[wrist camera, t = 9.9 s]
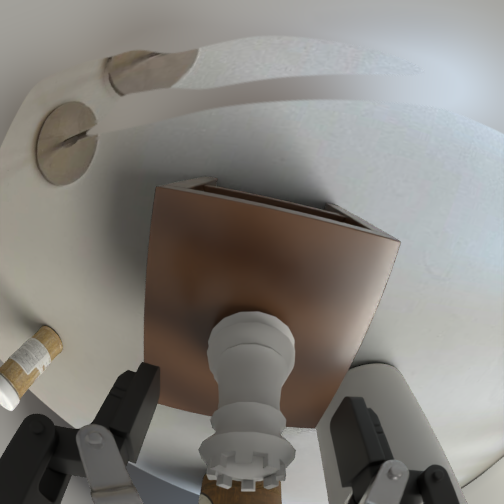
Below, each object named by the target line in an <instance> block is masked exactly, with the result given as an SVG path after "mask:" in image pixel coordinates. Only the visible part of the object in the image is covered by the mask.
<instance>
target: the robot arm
mask: <svg viewBox="0 0 504 504" xmlns="http://www.w3.org/2000/svg"><path fill="white" fill-rule="evenodd" d="M159 395H160V367H159V366H155V365H152V364H148V363H145V362H142V363H141V364H140V366H139V368H138V370H137V372H133V371H130V370H127V371H126V372H124V373H123V374H121V375H120V376H118V378H117V380H116V382H115V383H114V385H113V387H112V389H111V390H110V392H109V395H108V396H107V397H106V399H105V401H104V403H103V404H102V406H101V408H100V410H99V412H98V413H97V415H96V417H95V419H94V420H93V422H92V423H91V424H90V425H86V426H84V427H82V428H80V429H71V428H65V427H60V426H55V425H54V424H53V422H52V421H51V420H50V419H49V418H48V417H46V416H45V415H41V414H32V415H29V416H28V417H26V418H25V419H24V420H23V422H22V424H21V425H20V427H19V428H18V430H17V431H16V433H15V435H14V436H13V438H12V440H11V441H10V443H9V445H8V446H7V448H6V450H5V452H4V453H3V455H2V457H1V458H0V504H61V501H62V498H63V495H64V493H65V491H66V488H67V486H68V483H69V481H70V478H71V476H72V475H74V476H80V477H86V478H87V480H88V483H89V485H90V489H91V497H92V500H93V502H94V504H144V503H143V501H142V500H141V498H140V496H139V494H138V492H137V490H136V488H135V486H134V485H133V483H132V480H131V478H130V476H129V474H128V471H127V469H126V466H127V463H128V461H130V462H133V463H136V461H137V458H138V456H139V453H140V450H141V447H142V444H143V442H144V439H145V436H146V433H147V431H148V428H149V425H150V422H151V420H152V417H153V414H154V412H155V409H156V406H157V404H158V400H159ZM330 433H331V437H332V442H333V446H334V451H335V456H336V460H337V465H338V470H339V475H340V480H341V485H342V488H345V487H352V492H351V493H350V494H349V496H348V497H347V499H346V501H345V502H344V504H422V503H424V504H460V503H459V500H458V497H457V495H456V492H455V489H454V487H453V484H452V482H451V479H450V477H449V474H448V472H447V470H446V469H445V468H444V467H442V466H440V465H437V464H434V465H431V466H429V467H428V468H427V469H426V470H424V471H418V470H409V469H408V468H407V467H406V465H405V464H404V463H402V462H400V461H398V460H395V459H394V457H393V454H392V452H391V449H390V446H389V444H388V441H387V438H386V436H385V433H384V430H383V428H382V426H381V423H380V420H379V418H378V415H377V414H376V413H375V412H374V411H373V410H372V409H371V408H367V406H366V403H365V401H364V398H363V397H352V396H346V397H344V398H343V400H342V402H341V403H340V405H339V407H338V408H337V410H336V411H335V413H334V415H333V416H332V418H331V421H330Z"/></svg>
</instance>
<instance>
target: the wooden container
mask: <svg viewBox="0 0 504 504" xmlns="http://www.w3.org/2000/svg"><path fill="white" fill-rule="evenodd" d="M216 483H217V480H209V479H208V477H207V475H206V474H205V475H204V477H203V481H202V487H201V493H200V497H199V503H198V504H282V501H281V482H280V481H279V486H277V487H274V488H271V489H266V488H264V480H262V481H256V482H255V491H241V484H242V481H236V480H232V487H231V488H229V489H226V488H223V487H220V486H217V485H216Z"/></svg>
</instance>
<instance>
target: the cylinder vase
mask: <svg viewBox="0 0 504 504" xmlns="http://www.w3.org/2000/svg"><path fill="white" fill-rule="evenodd" d="M346 396H352V397H363V398H364V401H365V403H366V406H367V408H371V409H372V410H373V411H374V412H375V413H376V414H377V415H378V418H379V420H380V423H381V426H382V428H383V430H384V433H385V436H386V438H387V441H388V444H389V446H390V449H391V452H392V454H393V457H394V459H395V460H398V461H400V462H402V463H404V464H405V465H406V467H407V468H408V469H409V470H418V471H424V470H426V469H427V468H428V467H429V466H431V465H434V464H437V465H440V466H442V467H444V468H445V469H446V470H447V472H448V474H449V477H450V479H451V482H452V484H453V487H454V489H455V492H456V495H457V497H458V500H459V503H460V504H467V501H466V499H465V496H464V495H463V492H462V489H461V487H460V485H459V483H458V480H457V478H456V476H455V474H454V472H453V470H452V467H451V465H450V463H449V461H448V459H447V457H446V455H445V453H444V451H443V449H442V447H441V445H440V443H439V441H438V439H437V437H436V435H435V433H434V431H433V429H432V427H431V426H430V424H429V422H428V420H427V418H426V416H425V414H424V412H423V411H422V409H421V407H420V405H419V403H418V402H417V400H416V398H415V396H414V394H413V393H412V391H411V389H410V387H409V386H408V384H407V382H406V381H405V379H404V377H403V375H402V374H401V372H400V371H399V370H397V369H396V368H395V367H393V366H390V365H387V364H380V363H374V364H366V365H362V366H358V367H355V368H352V369H350V370H348V372H347V373H346V375H345V377H344V379H343V381H342V383H341V385H340V387H339V388H338V390H337V392H336V394H335V396H334V397H333V399H332V401H331V403H330V404H329V406H328V408H327V409H326V411H325V413H324V414H323V416H322V418H321V419H320V421H319V423H318V424H317V426H316V430H317V436H318V441H319V447H320V453H321V458H322V464H323V470H324V476H325V482H326V488H327V494H328V501H329V504H344V502H345V501H346V499H347V497H348V496H349V494H350V493H351V492H352V487H345V488H342V485H341V480H340V475H339V470H338V465H337V460H336V456H335V451H334V446H333V442H332V437H331V433H330V421H331V418H332V416H333V415H334V413H335V411H336V410H337V408H338V407H339V405H340V403H341V402H342V400H343V398H344V397H346ZM422 504H424V503H422Z"/></svg>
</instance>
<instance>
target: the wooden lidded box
mask: <svg viewBox="0 0 504 504" xmlns="http://www.w3.org/2000/svg"><path fill="white" fill-rule="evenodd" d="M217 180H218V179H217V178H213V177H207V176H203V177H198V178H193V179H189V180H184V181H179V182H175V183H170V184H166V185H161V186H157V187H156V189H155V196H154V203H153V211H152V219H151V227H150V236H149V246H148V258H147V270H146V286H145V307H144V362H145V363H148V364H152V365H155V366H159V367H160V395H159V400H158V404H161V405H165V406H169V407H172V408H176V409H180V410H184V411H189V412H193V413H197V414H202V415H207V416H213V414H214V412H215V411H216V410H218V404H219V390H218V383H217V382H216V380H215V379H214V375H213V373H212V372H211V371H210V368H209V362H208V356H207V350H208V347H209V345H208V341H209V338H210V335H211V332H212V329H213V328H214V327H215V326H216V325H217V324H218V323H219V322H220V321H221V320H223V319H224V318H226V317H228V316H231V315H233V314H236V313H239V312H256V311H259V312H262V313H265V314H268V315H271V316H275V317H277V318H278V319H279V320H280V321H282V322H283V323H284V324H285V325H287V326H288V327H289V329H290V331H291V333H292V335H293V337H294V340H295V344H294V349H295V363H294V367H293V369H292V371H291V373H290V374H289V376H288V378H287V380H286V381H285V383H284V384H283V386H282V388H281V396H280V404H279V405H280V411H281V413H282V414H283V416H284V417H285V419H286V427H297V428H315V427H316V426H317V424H318V423H319V421H320V419H321V418H322V416H323V414H324V413H325V411H326V409H327V408H328V406H329V404H330V403H331V401H332V399H333V397H334V396H335V394H336V392H337V390H338V388H339V387H340V385H341V383H342V381H343V379H344V377H345V375H346V373H347V372H348V370H349V368H350V366H351V364H352V362H353V360H354V358H355V356H356V354H357V352H358V350H359V347H360V345H361V343H362V341H363V339H364V337H365V335H366V332H367V330H368V328H369V326H370V323H371V321H372V319H373V316H374V314H375V312H376V309H377V307H378V304H379V302H380V299H381V297H382V294H383V292H384V289H385V287H386V284H387V281H388V279H389V276H390V273H391V270H392V267H393V265H394V262H395V259H396V256H397V253H398V250H399V247H400V243H401V242H400V241H399V240H398V239H396V238H394V237H393V236H391V235H389V234H387V233H386V232H384V231H382V230H381V229H379V228H377V227H375V226H374V225H372V224H370V223H368V222H367V221H365V220H363V219H361V218H359V217H358V216H356V215H354V214H352V213H350V212H349V211H347V210H345V209H343V208H341V207H339V206H337V205H333V204H329V203H326V205H325V209H324V210H322V209H318V208H314V207H310V206H305V205H301V204H297V203H293V202H289V201H284V200H280V199H275V198H271V197H266V196H262V195H257V194H253V193H248V192H243V191H238V190H233V189H228V188H223V187H218V186H216V185H217Z"/></svg>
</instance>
